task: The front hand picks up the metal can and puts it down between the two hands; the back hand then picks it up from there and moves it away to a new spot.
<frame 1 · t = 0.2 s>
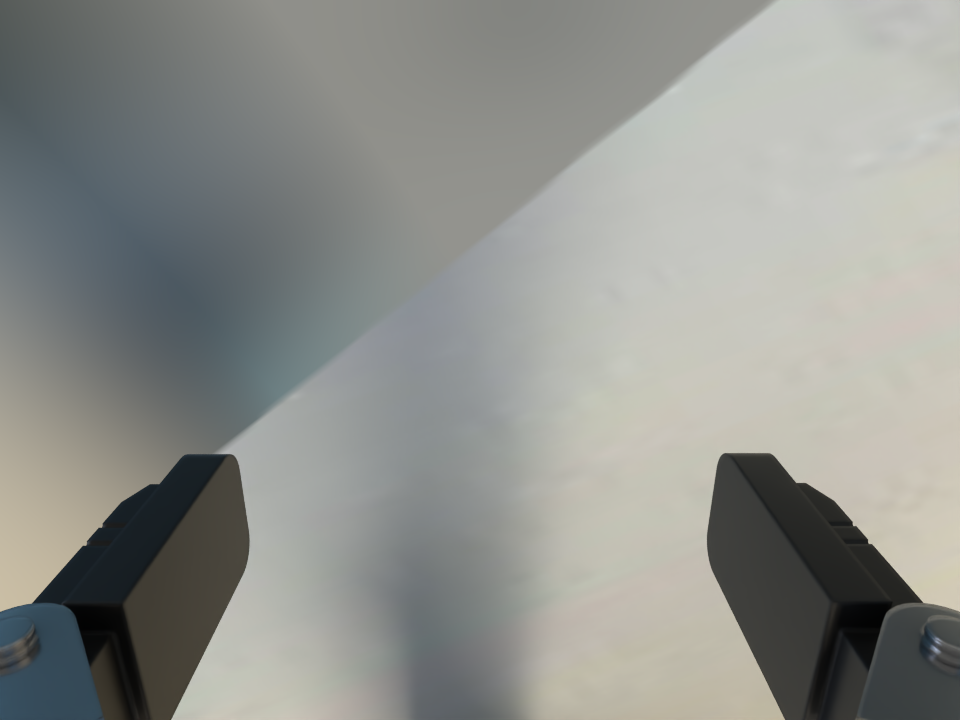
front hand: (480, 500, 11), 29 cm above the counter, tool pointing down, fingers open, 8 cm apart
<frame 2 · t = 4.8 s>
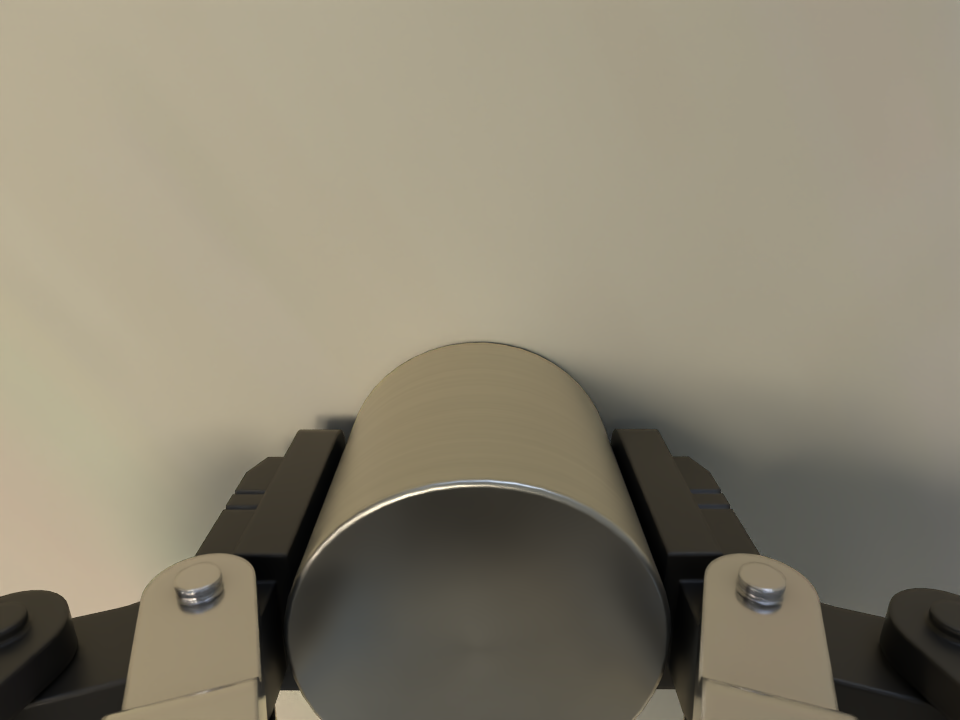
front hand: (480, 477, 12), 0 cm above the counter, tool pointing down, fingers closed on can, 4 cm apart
can: (478, 461, 12), on the counter, touching front hand
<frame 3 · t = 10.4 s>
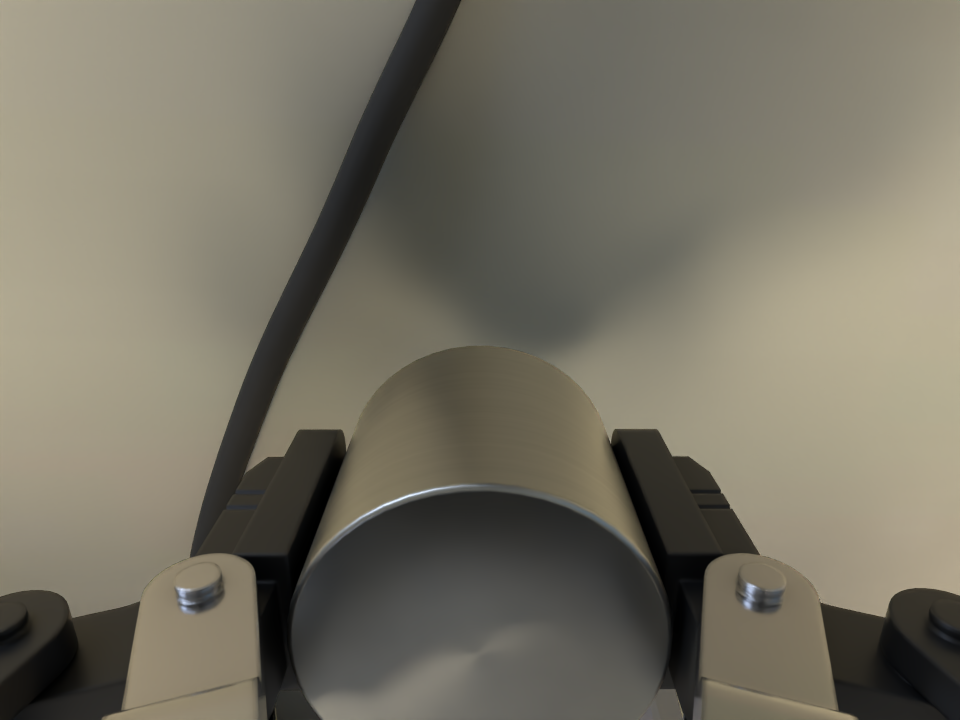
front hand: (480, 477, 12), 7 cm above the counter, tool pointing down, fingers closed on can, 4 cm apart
can: (480, 464, 12), point 6 cm above the counter, touching front hand
when the front hand's fingers open (1 cm above the counter, at t = 16.4 s): can stays where it is, on the counter.
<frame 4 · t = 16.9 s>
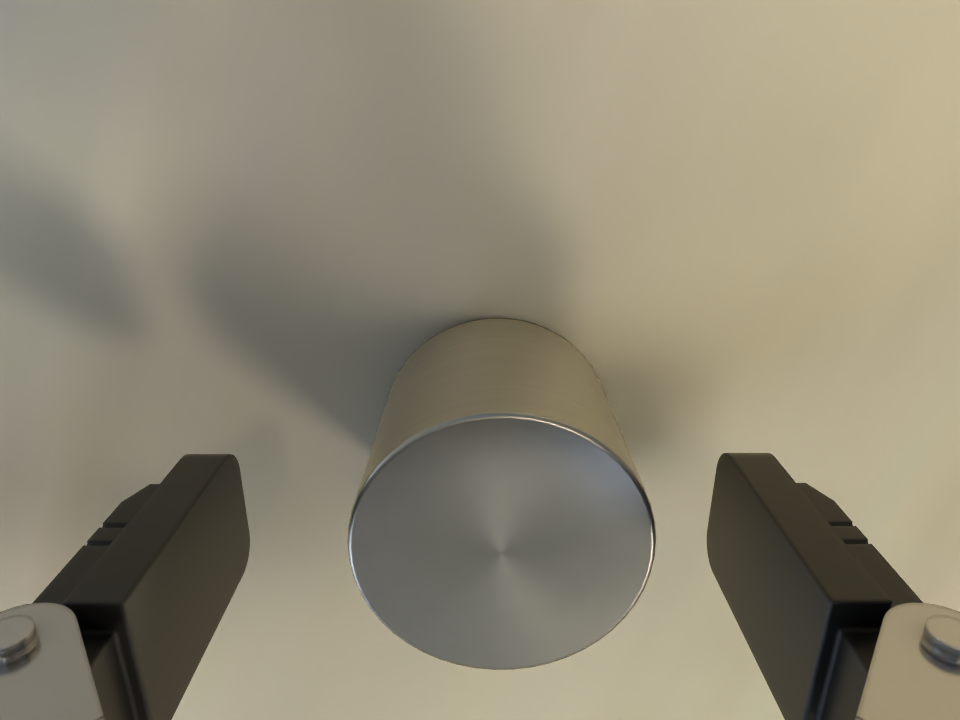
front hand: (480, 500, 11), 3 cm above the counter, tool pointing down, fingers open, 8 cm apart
can: (496, 422, 15), on the counter
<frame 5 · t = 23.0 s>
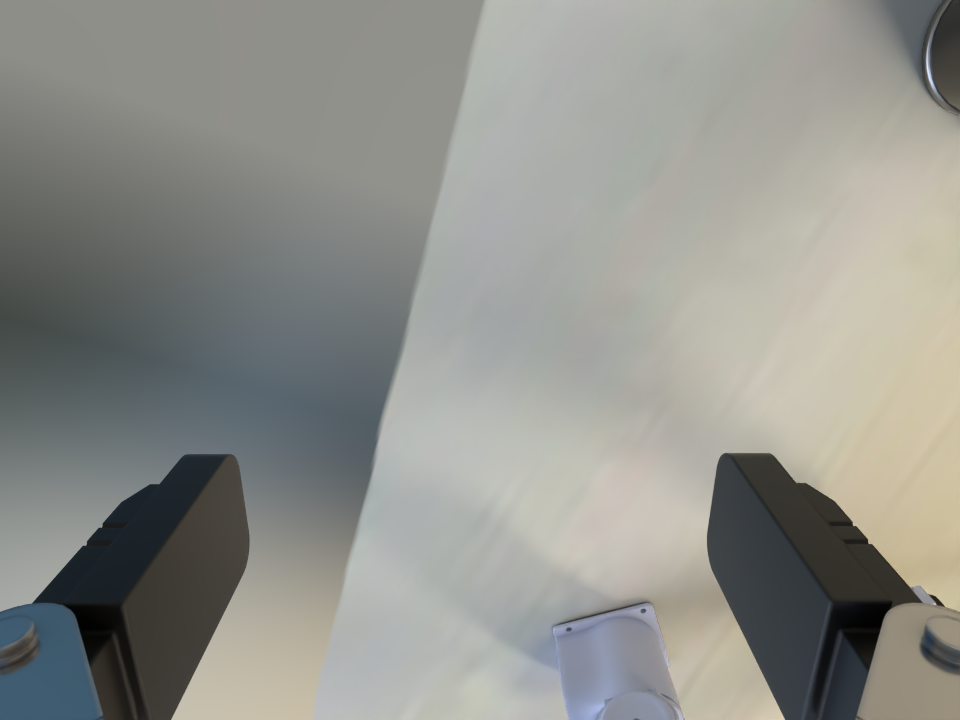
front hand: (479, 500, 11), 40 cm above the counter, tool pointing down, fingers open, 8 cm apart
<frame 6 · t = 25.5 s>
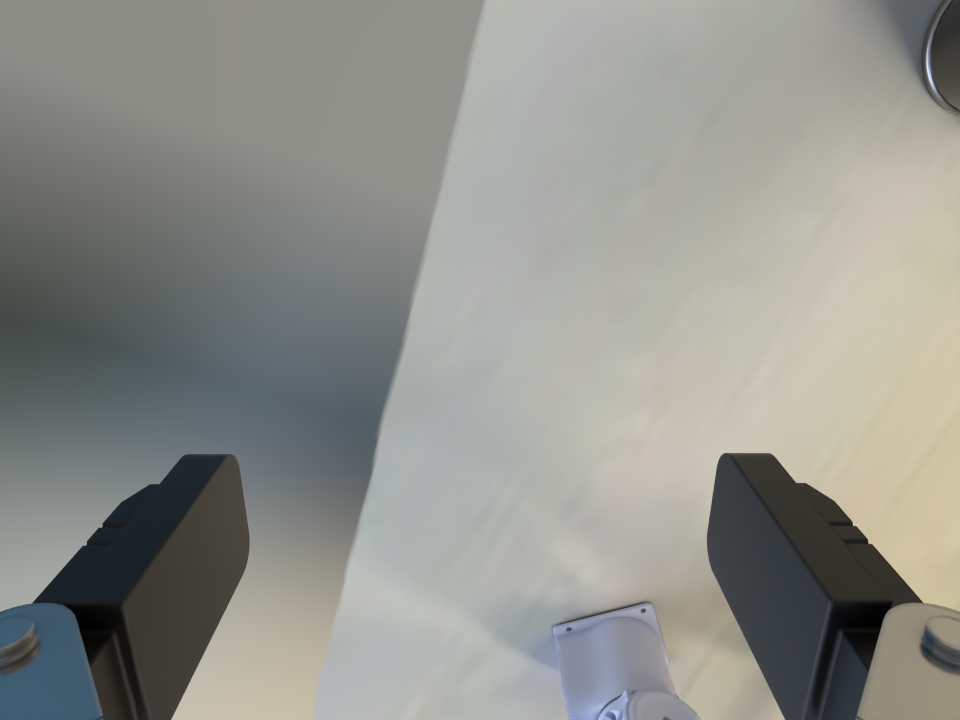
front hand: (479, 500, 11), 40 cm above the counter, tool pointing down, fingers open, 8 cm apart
when the back hand's fingers open (2 cm above the counter, at t = 28.1 s): can stays where it is, on the counter.
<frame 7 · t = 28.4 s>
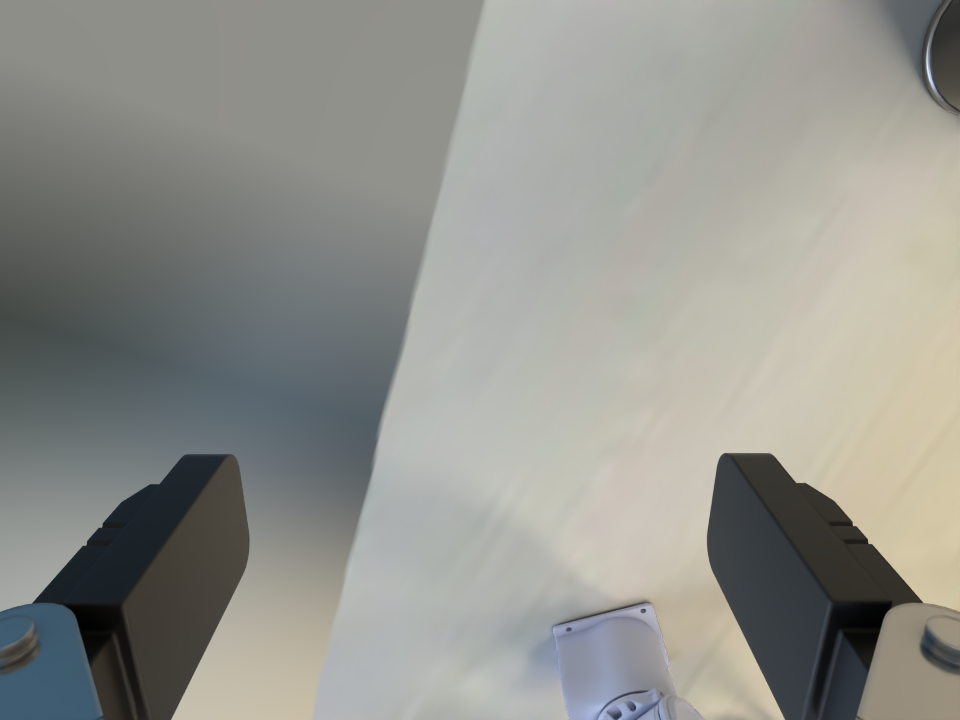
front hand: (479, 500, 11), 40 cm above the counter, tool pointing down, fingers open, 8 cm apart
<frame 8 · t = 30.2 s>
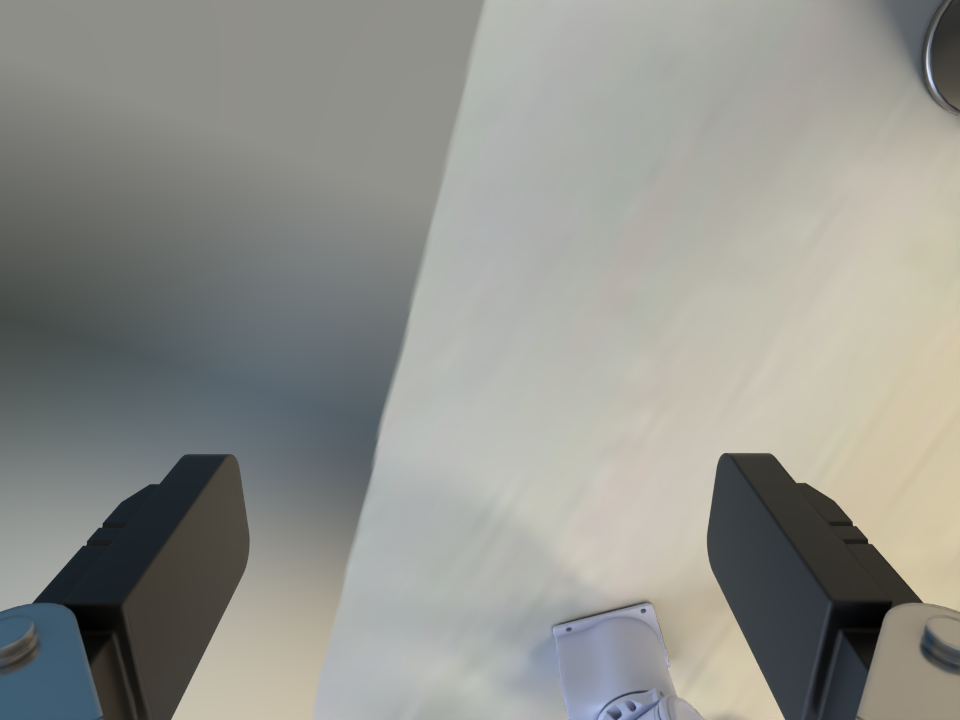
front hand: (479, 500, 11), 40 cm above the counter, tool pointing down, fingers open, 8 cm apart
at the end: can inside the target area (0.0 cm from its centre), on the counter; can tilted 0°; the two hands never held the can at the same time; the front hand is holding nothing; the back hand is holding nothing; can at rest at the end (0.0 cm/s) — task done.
